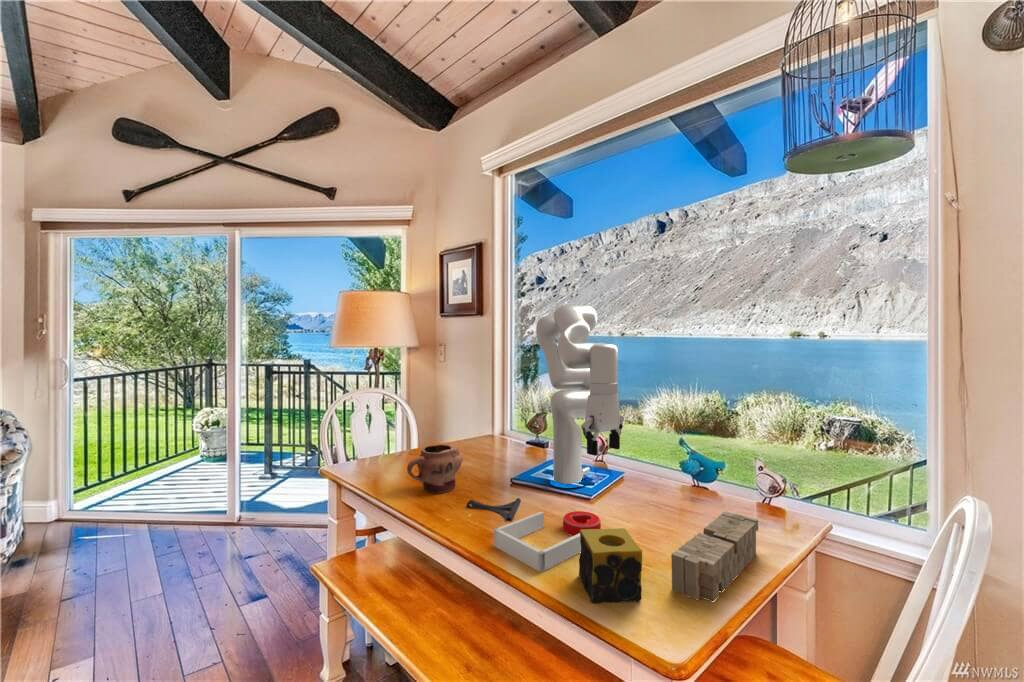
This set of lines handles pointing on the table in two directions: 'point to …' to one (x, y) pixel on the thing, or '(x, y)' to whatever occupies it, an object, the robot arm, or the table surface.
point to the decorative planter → (437, 467)
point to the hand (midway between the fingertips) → (603, 451)
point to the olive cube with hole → (610, 565)
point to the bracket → (498, 508)
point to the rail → (528, 554)
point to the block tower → (714, 556)
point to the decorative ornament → (580, 522)
